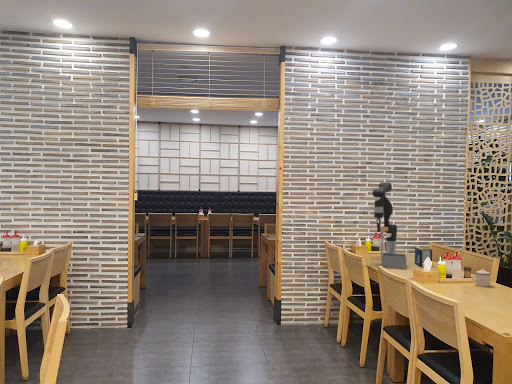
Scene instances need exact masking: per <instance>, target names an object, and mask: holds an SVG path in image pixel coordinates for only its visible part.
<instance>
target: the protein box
mask: <svg viewBox="0 0 512 384" xmlns="http://www.w3.org/2000/svg"><path fill="white" fill-rule="evenodd" d="M427 257H429V258H430V260H431V261H432V262H433V249H432V248H429V247H426V246H425V247H424V246H415V247H414V265H416V266H417V267H418V268H419V267H420V268H424V267H423V263H424V261H425V259H426V258H427Z"/></svg>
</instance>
